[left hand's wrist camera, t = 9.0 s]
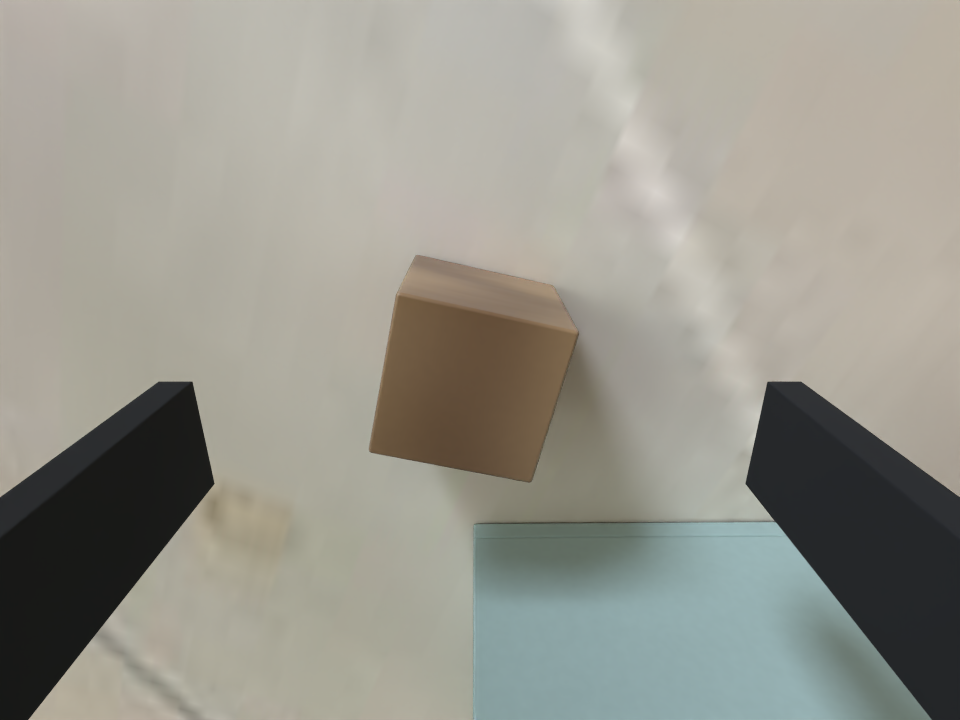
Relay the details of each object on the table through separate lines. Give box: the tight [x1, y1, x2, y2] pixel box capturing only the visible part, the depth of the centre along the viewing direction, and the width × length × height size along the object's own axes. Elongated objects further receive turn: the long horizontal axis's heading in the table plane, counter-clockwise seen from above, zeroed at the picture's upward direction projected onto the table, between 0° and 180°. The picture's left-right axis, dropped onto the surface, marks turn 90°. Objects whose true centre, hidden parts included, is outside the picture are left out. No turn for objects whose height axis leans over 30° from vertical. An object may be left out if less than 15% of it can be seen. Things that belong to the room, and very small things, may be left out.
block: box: [369, 255, 579, 482], centre depth 16 cm, size 4×4×4 cm
